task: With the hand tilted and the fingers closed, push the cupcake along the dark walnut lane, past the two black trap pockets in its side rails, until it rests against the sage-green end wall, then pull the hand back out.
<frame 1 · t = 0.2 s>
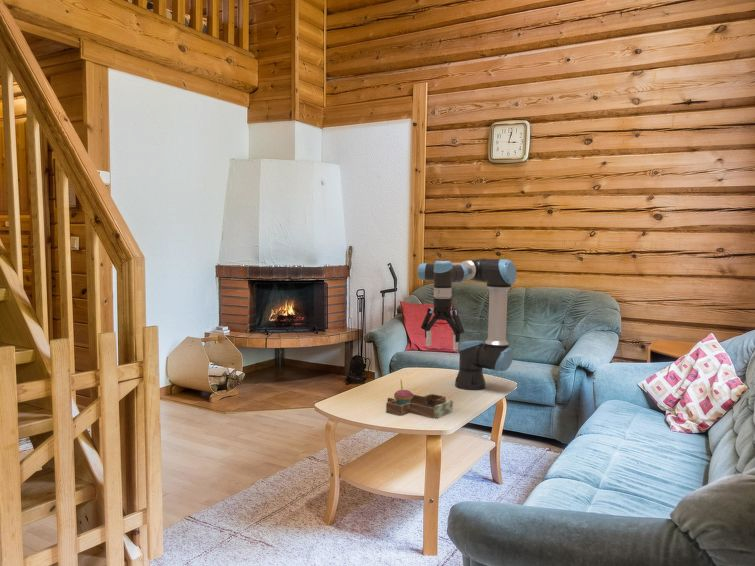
hand: (441, 347, 252), 28 cm above the table, tool pointing down, fingers open, 13 cm apart
trap lane: (418, 409, 258), on the table
cupcake: (403, 406, 263), on the table
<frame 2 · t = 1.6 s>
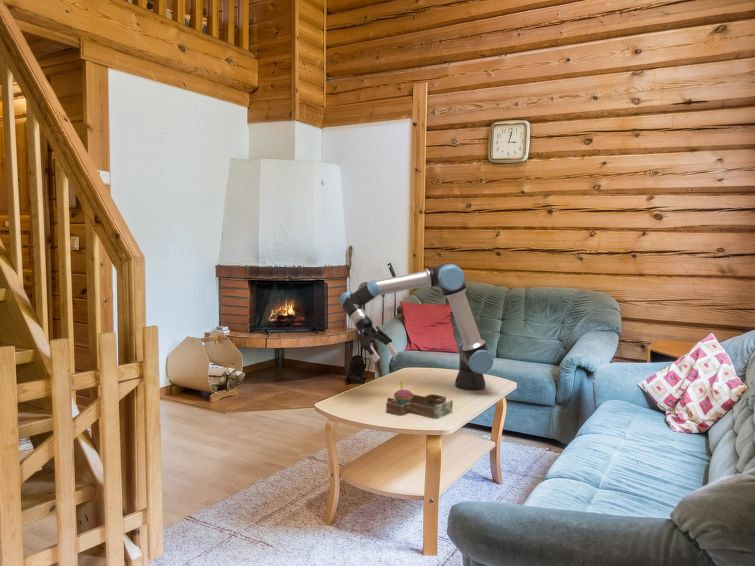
hand: (386, 358, 267), 20 cm above the table, tool tilted 45°, fingers open, 13 cm apart
nothing on the table moved.
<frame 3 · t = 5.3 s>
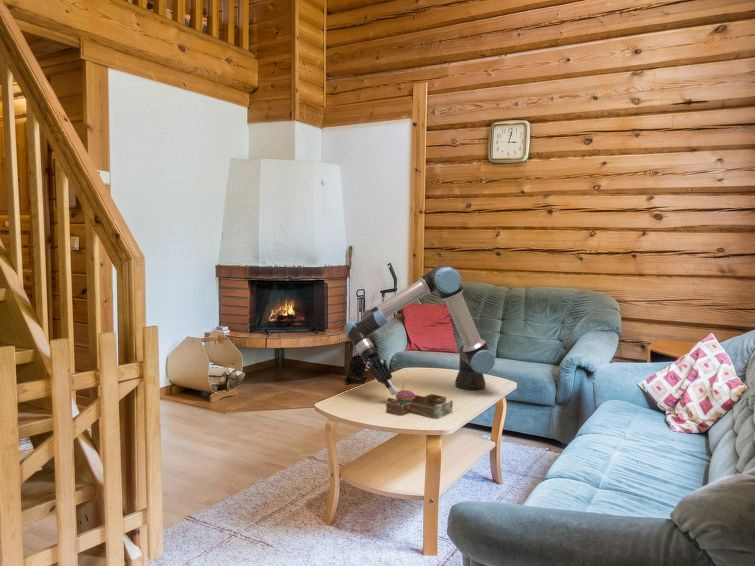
hand: (394, 393, 264), 5 cm above the table, tool tilted 45°, fingers closed
cupcake: (405, 406, 262), on the table, touching gripper
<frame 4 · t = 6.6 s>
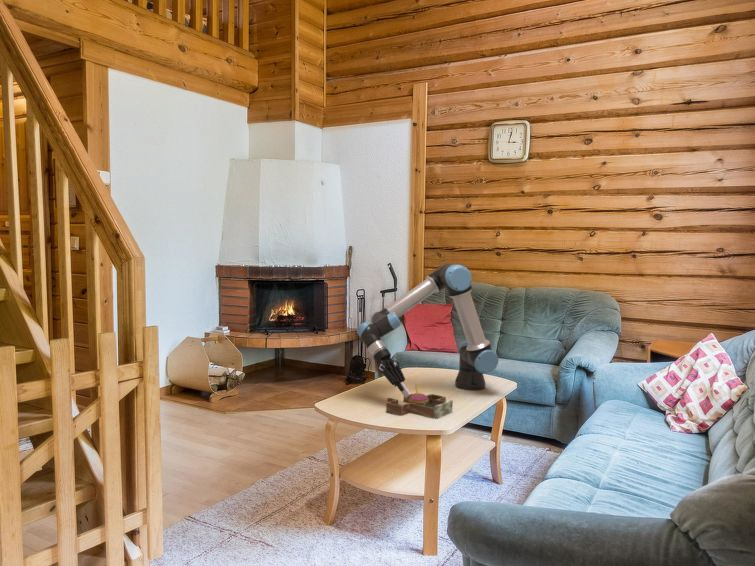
hand: (408, 396, 259), 5 cm above the table, tool tilted 45°, fingers closed
cupcake: (418, 410, 257), on the table, touching gripper
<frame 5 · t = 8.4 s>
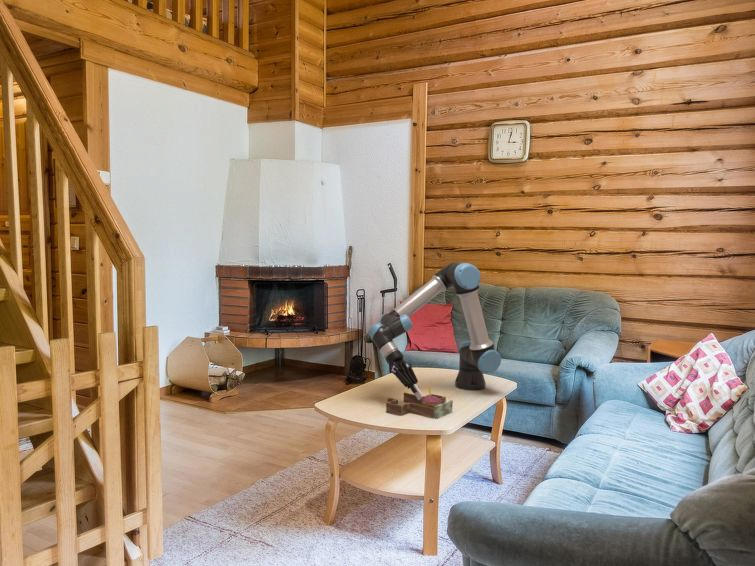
hand: (421, 398, 256), 5 cm above the table, tool tilted 45°, fingers closed
cupcake: (431, 412, 254), on the table, touching gripper
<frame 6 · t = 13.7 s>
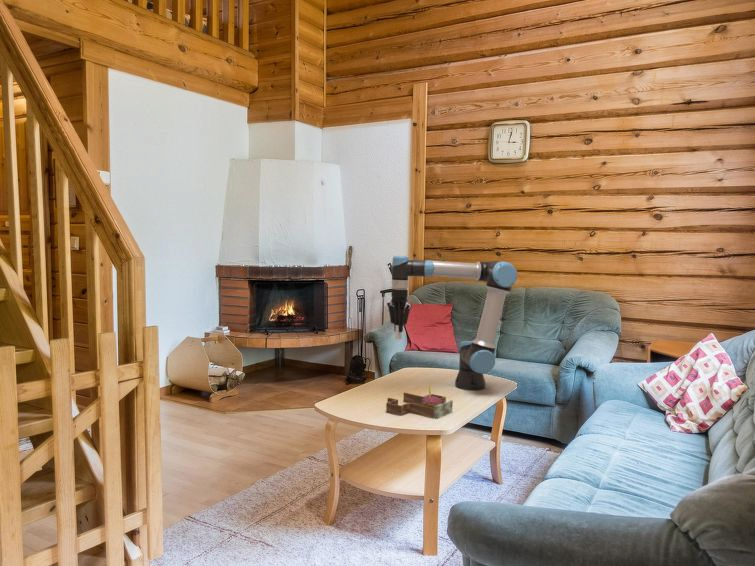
hand: (398, 338, 280), 26 cm above the table, tool pointing down, fingers closed
cupcake: (431, 413, 254), on the table
at the end: cupcake inside the target area (0.1 cm from its centre), on the table; cupcake tilted 0°; cupcake moved 14.7 cm from its start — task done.
